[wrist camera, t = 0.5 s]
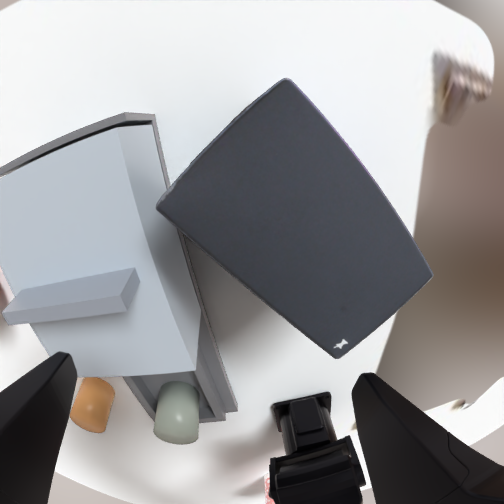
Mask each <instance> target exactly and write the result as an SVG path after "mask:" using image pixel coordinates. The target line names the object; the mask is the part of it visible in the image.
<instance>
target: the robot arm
mask: <svg viewBox="0 0 504 504" xmlns="http://www.w3.org/2000/svg"><path fill="white" fill-rule="evenodd" d="M76 381H77V370H76V367H75V364H74V361H73V358H72V356H71V354H69V353H66V352H62V351H58V352H56V353H55V354H54V355H52V356H51V357H49V358H48V359H46V360H45V361H43V362H42V363H41V364H39V365H38V366H36V367H35V368H34V369H32V370H31V371H29V372H28V373H26V374H25V375H24V376H22V377H21V378H19V379H18V380H17V381H15V382H14V383H12V384H11V385H10V386H8V387H7V388H6V389H4V390H3V391H1V392H0V504H47V503H48V498H49V493H50V488H51V483H52V479H53V474H54V470H55V466H56V462H57V458H58V454H59V450H60V447H61V443H62V439H63V436H64V433H65V429H66V426H67V422H68V419H69V414H70V410H71V405H72V400H73V395H74V390H75V386H76ZM352 401H353V407H354V413H355V419H356V425H357V431H358V436H359V440H360V443H361V447H362V451H363V454H364V458H365V462H366V465H367V469H368V473H369V477H370V481H371V485H372V488H373V492H374V497H375V500H376V504H504V466H502V465H499V464H497V463H495V462H494V461H492V460H490V459H489V458H487V457H485V456H484V455H482V454H480V453H479V452H477V451H475V450H474V449H472V448H470V447H469V446H468V445H466V444H465V443H463V442H462V441H460V440H459V439H458V438H456V437H455V436H454V435H452V434H451V433H450V432H447V430H446V429H444V428H443V427H442V426H441V425H439V424H438V423H437V422H435V421H434V420H433V419H431V418H430V417H429V416H428V415H426V414H425V413H424V412H422V411H421V410H420V409H419V408H417V407H416V406H415V405H414V404H412V403H411V402H410V401H408V400H407V399H406V398H404V397H403V396H402V395H401V394H400V393H398V392H397V391H396V390H394V389H393V388H392V387H391V386H389V385H388V384H387V383H386V382H384V381H383V380H382V379H381V378H379V377H378V376H377V375H376V374H374V373H362V374H361V375H360V376H359V378H358V380H357V382H356V383H355V385H354V387H353V389H352ZM273 408H274V413H275V417H276V422H277V426H278V431H279V432H282V436H283V441H284V446H285V452H286V455H285V456H281V457H277V458H276V457H274V458H270V465H269V478H270V486H269V492H268V495H269V498H271V499H273V500H274V503H275V504H363V499H362V494H361V491H360V488H359V487H362V486H365V485H366V481H365V478H364V474H363V471H362V468H361V465H360V462H359V459H358V456H357V454H356V451H355V448H354V446H353V443H352V440H351V438H350V435H348V436H345V438H342V439H339V440H337V437H336V434H335V431H334V428H333V424H332V421H331V418H330V412H331V394H330V392H325V393H321V394H317V395H313V396H308V397H304V398H299V399H295V400H290V401H285V402H279V403H275V404H274V405H273ZM349 455H350V456H349Z"/></svg>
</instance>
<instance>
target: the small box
mask: <svg viewBox="0 0 504 504" xmlns="http://www.w3.org/2000/svg"><path fill="white" fill-rule="evenodd" d="M156 210H157V211H158V212H159V213H161V214H162V215H163V216H164V217H165V218H166V219H167V220H169V221H170V222H171V223H172V224H173V225H174V226H175V227H176V228H178V229H179V230H180V231H181V232H182V233H183V234H184V235H185V236H187V237H188V238H189V239H190V240H191V241H193V242H194V243H195V244H196V245H197V246H198V247H199V248H200V249H202V250H203V251H204V252H205V253H206V254H207V255H209V256H210V257H211V258H212V259H213V260H215V261H216V262H217V263H218V264H219V265H220V266H221V267H223V268H224V269H225V270H226V271H227V272H229V273H230V274H231V275H232V276H233V277H235V278H236V279H237V280H238V281H239V282H241V283H242V284H243V285H244V286H245V287H246V288H248V289H249V290H250V291H251V292H252V293H253V294H255V295H256V296H257V297H259V298H260V299H261V300H262V301H263V302H265V303H266V304H267V305H268V306H270V307H271V308H272V309H273V310H274V311H276V312H277V313H278V314H279V315H281V316H282V317H283V318H285V319H286V320H287V321H288V322H289V323H290V324H292V325H293V326H294V327H295V328H297V329H298V330H299V331H300V332H302V333H303V334H304V335H305V336H306V337H308V338H309V339H310V340H312V341H313V342H314V343H315V344H317V345H318V346H319V347H321V348H322V349H323V350H325V351H326V352H327V353H328V354H330V355H331V356H332V357H333V358H335V359H339V358H341V357H342V356H344V355H345V354H346V353H348V352H349V351H350V350H351V349H353V348H354V347H355V346H356V345H358V344H359V343H360V342H361V341H362V340H364V339H365V338H366V337H367V336H369V335H370V334H371V333H372V332H374V331H375V330H376V329H377V328H378V327H379V326H381V325H382V324H383V323H384V322H385V321H387V320H388V319H389V318H390V317H391V316H392V315H394V314H395V313H396V312H397V311H398V310H399V309H400V308H401V307H402V306H403V305H405V304H406V303H407V302H408V301H409V300H410V299H411V298H412V297H413V296H414V295H415V294H416V293H417V292H418V291H419V290H420V289H421V288H422V287H423V286H424V285H425V284H426V283H427V282H428V281H429V280H430V279H431V278H432V277H433V272H432V270H431V268H430V267H429V265H428V264H427V261H426V259H425V258H424V256H423V254H422V253H421V251H420V249H419V247H418V246H417V244H416V242H415V241H414V239H413V237H412V236H411V234H410V233H409V231H408V229H407V228H406V226H405V225H404V223H403V221H402V220H401V218H400V217H399V215H398V214H397V212H396V211H395V209H394V208H393V206H392V205H391V203H390V202H389V200H388V199H387V197H386V196H385V194H384V193H383V191H382V190H381V189H380V187H379V186H378V184H377V183H376V181H375V180H374V179H373V177H372V176H371V175H370V173H369V172H368V170H367V169H366V168H365V166H364V165H363V164H362V162H361V161H360V160H359V158H358V157H357V156H356V154H355V153H354V152H353V151H352V149H351V148H350V147H349V146H348V144H347V143H346V142H345V141H344V139H343V138H342V137H341V136H340V134H339V133H338V132H337V131H336V130H335V128H334V127H333V126H332V125H331V124H330V122H329V121H328V120H327V119H326V118H325V116H324V115H323V114H322V113H321V112H320V111H319V109H318V108H317V107H316V106H315V105H314V104H313V103H312V102H311V100H310V99H309V98H308V97H307V96H306V95H305V94H304V93H303V92H302V91H301V90H300V89H299V87H298V86H297V85H296V84H295V83H294V82H293V81H292V80H291V79H289V78H284V79H282V80H280V81H279V82H277V83H276V84H274V85H273V86H272V87H271V88H269V89H268V90H267V91H266V92H265V93H263V94H262V95H261V96H260V97H258V98H257V99H256V100H255V101H253V102H252V103H251V104H250V105H248V106H247V107H246V108H245V109H244V110H243V111H242V112H241V113H240V114H239V115H238V116H236V117H235V118H234V119H233V120H232V121H231V123H230V124H229V125H228V126H227V127H226V128H225V129H224V130H223V131H222V132H221V133H220V134H219V135H218V136H217V137H216V138H215V139H213V141H212V142H211V143H210V144H209V145H208V146H207V147H206V148H204V149H203V151H202V152H201V153H200V154H199V155H198V156H197V157H196V158H195V159H194V160H193V161H192V162H191V163H190V165H189V166H188V168H187V169H186V170H185V171H184V172H183V173H182V174H181V175H180V176H179V177H178V178H177V179H176V181H175V182H174V183H173V184H172V185H171V187H170V188H169V189H168V190H167V191H166V192H165V193H164V194H163V195H162V196H161V198H160V199H159V201H158V202H157V204H156Z"/></svg>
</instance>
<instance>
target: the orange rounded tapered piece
mask: <svg viewBox="0 0 504 504" xmlns="http://www.w3.org/2000/svg"><path fill="white" fill-rule="evenodd" d="M114 396H115V391H114V389H113V388H112V386H111V385H110V384H108V383H107V382H106V381H104V380H102V379H100V378H97V377H85V378H84V379H83V381H82V384H81V386H80V389H79V391H78V394H77V396H76V399H75V402H74V404H73V407H72V410H71V413H70V418H71V420H72V421H73V422H74V423H75V424H77V425H78V426H79V427H81V428H83V429H85V430H87V431H90V432H94V433H102V432H104V431H105V429H106V425H107V421H108V417H109V414H110V410H111V407H112V403H113V399H114Z"/></svg>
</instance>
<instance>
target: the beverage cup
mask: <svg viewBox="0 0 504 504" xmlns="http://www.w3.org/2000/svg"><path fill="white" fill-rule="evenodd" d="M264 482H265V500H266V504H275V503H274V500H273V499H271V498H269V495H268V492H269V486H270V478H269V473H267V474H266V475H265V476H264Z"/></svg>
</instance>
